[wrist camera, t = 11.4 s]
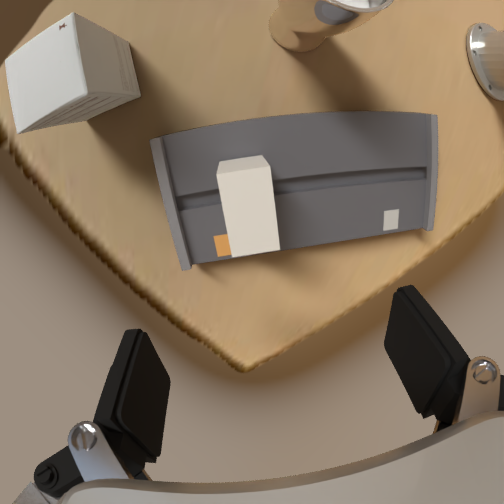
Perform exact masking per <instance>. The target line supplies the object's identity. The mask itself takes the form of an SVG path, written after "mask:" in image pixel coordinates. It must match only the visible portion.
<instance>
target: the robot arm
mask: <svg viewBox="0 0 504 504" xmlns="http://www.w3.org/2000/svg"><path fill="white" fill-rule="evenodd" d="M466 44H467V53H468V58H469V62H470V65H471V67H472V70H473V72H474V75H475V77H476V79H477V80H478V82H479V84H480V85H481V87H482V88H483V90H484V91H485V92H486V93H487V94H488V95H489V96H491V97H492V98H494V99H496V100H501V101H504V31H497V30H495V29H494V28H493V27H492V26H490V25H488V24H485V23H477V24H474V25H472V26H471V27H470V28H469V30H468V33H467V39H466ZM384 346H385V350H386V352H387V354H388V356H389V358H390V359H391V361H392V363H393V365H394V367H395V369H396V371H397V373H398V375H399V376H400V379H401V381H402V383H403V385H404V387H405V389H406V391H407V393H408V395H409V397H410V399H411V401H412V403H413V405H414V407H415V410H416V411H417V412H418V413H419V414H420V413H421V414H422V416H423V419H424V418H427V417H429V416H431V415H435V417H436V419H437V421H436V425H435V428H434V431H433V434H432V435H429V436H427V437H425V438H422V439H420V440H418V441H415V442H413V443H410V444H407V445H405V446H402V447H400V448H397V449H394V450H392V451H389V452H386V453H383V454H380V455H377V456H374V457H370V458H367V459H364V460H361V461H357V462H353V463H350V464H346V465H342V466H338V467H334V468H330V469H325V470H321V471H316V472H311V473H306V474H300V475H295V476H288V477H282V478H273V479H265V480H256V481H243V482H225V483H181V482H161V481H152V479H151V478H150V477H149V475H148V474H147V473H146V471H145V470H144V467H145V462H149V463H156V459H157V457H159V456H160V454H161V448H162V440H163V432H164V424H165V416H166V410H167V403H168V396H169V390H170V377H169V375H168V373H167V371H166V369H165V368H164V366H163V364H162V362H161V360H160V358H159V356H158V354H157V352H156V350H155V348H154V346H153V344H152V342H151V340H150V338H149V336H148V334H147V333H146V332H143V331H142V330H141V329H131V330H126V331H125V333H124V335H123V338H122V340H121V343H120V346H119V348H118V351H117V354H116V357H115V359H114V362H113V365H112V366H111V368H110V371H109V373H108V376H107V379H106V382H105V385H104V388H103V391H102V394H101V397H100V400H99V403H98V406H97V410H96V413H95V416H94V420H93V422H90V421H82V422H80V423H77V424H76V425H75V426H74V427H73V428H72V429H71V430H70V432H69V435H68V446H66V447H65V448H64V449H62V450H60V451H59V452H57V453H56V454H54V455H52V456H51V457H49V458H48V459H46V460H45V461H43V462H41V463H40V464H39V465H38V466H37V467H36V469H35V472H34V481H35V482H34V483H32V482H30V483H29V484H28V485H27V487H26V488H25V489H24V490H23V491H22V493H21V494H20V495H19V496H18V498H17V499H16V500H15V501H14V502H13V503H12V504H504V375H500V369H499V367H498V365H497V364H496V363H495V361H493V360H492V359H490V358H488V357H485V356H479V357H475V358H474V359H473V360H470V358H469V357H468V355H467V354H466V352H465V351H464V349H463V348H462V347H461V345H460V344H459V342H458V341H457V340H456V339H455V337H454V336H453V335H452V333H451V332H450V331H449V329H448V328H447V326H446V325H445V324H444V323H443V321H442V320H441V319H440V317H439V316H438V315H437V314H436V312H435V311H434V310H433V309H432V307H431V306H430V305H429V304H428V303H427V301H426V300H425V299H424V298H423V296H422V295H421V294H420V293H419V292H418V290H417V289H416V288H415V287H414V286H413V285H408V286H404V287H400V288H398V289H397V292H395V293H394V295H393V300H392V306H391V311H390V317H389V321H388V326H387V331H386V336H385V340H384Z"/></svg>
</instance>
